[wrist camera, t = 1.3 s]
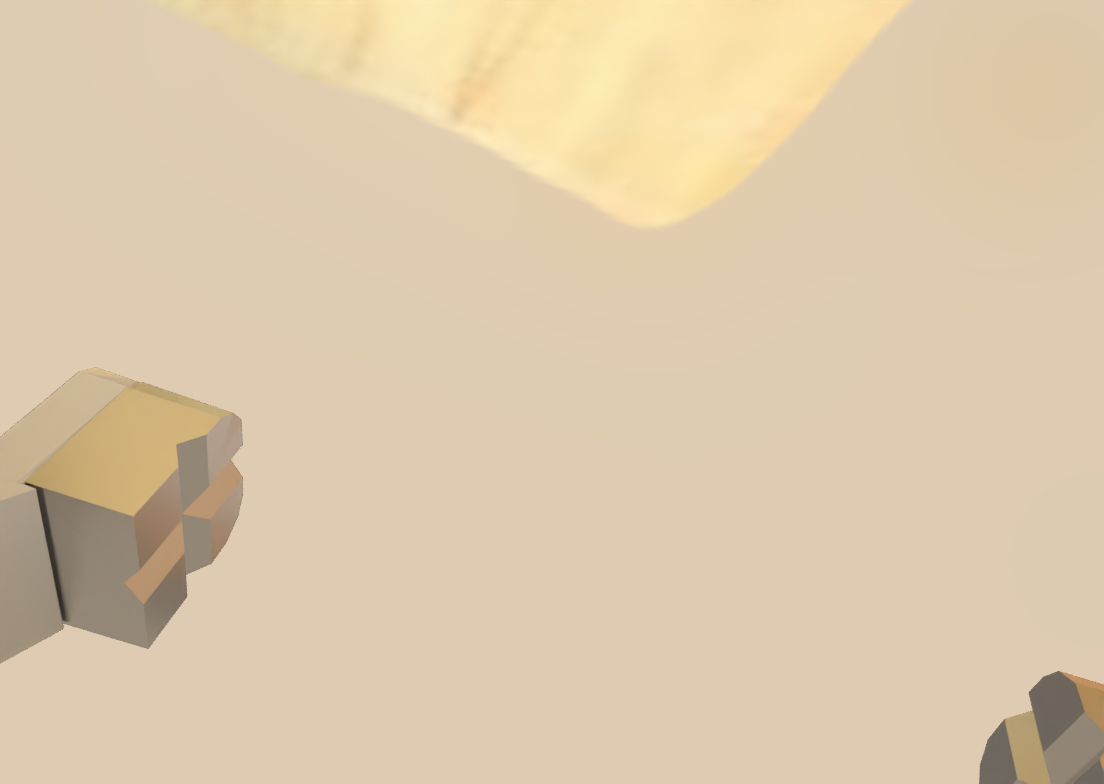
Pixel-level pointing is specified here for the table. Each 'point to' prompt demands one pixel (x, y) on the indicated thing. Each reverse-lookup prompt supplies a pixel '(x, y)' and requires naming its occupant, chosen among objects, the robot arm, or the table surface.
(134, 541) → the robot arm
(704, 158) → the table surface
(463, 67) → the table surface
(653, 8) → the table surface
